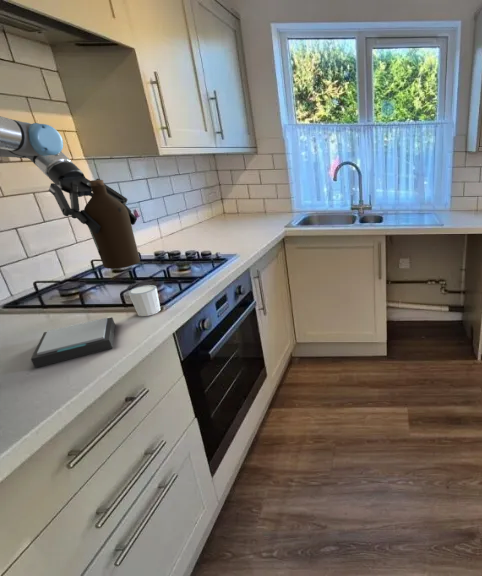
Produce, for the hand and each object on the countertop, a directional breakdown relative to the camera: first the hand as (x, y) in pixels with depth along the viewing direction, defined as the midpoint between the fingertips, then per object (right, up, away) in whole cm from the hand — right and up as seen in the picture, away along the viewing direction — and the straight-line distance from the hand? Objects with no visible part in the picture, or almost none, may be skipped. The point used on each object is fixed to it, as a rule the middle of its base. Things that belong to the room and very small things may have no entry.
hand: (117, 225), depth 106 cm
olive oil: (-3, -11, +6) cm, 13 cm away
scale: (+5, -32, -19) cm, 37 cm away
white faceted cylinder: (+11, -25, -3) cm, 28 cm away
